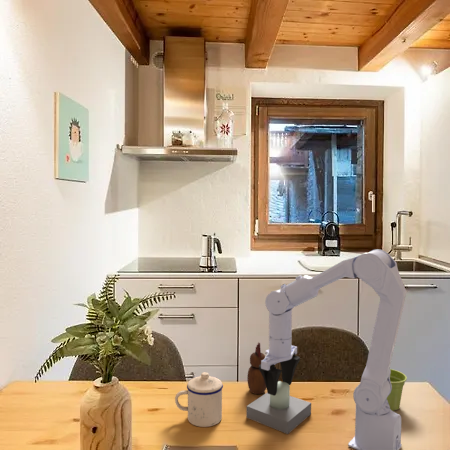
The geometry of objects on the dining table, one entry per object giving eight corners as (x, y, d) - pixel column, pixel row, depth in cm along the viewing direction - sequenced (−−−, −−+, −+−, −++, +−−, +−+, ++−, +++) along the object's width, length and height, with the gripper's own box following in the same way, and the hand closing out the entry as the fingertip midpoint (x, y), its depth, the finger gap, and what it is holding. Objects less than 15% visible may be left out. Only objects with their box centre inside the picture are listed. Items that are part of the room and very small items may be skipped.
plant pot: (369, 411, 109) (370, 379, 108) (368, 395, 118) (368, 366, 117) (407, 417, 106) (408, 384, 105) (403, 400, 115) (404, 370, 114)
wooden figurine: (266, 397, 116) (266, 345, 115) (245, 395, 117) (246, 343, 116) (268, 387, 123) (269, 337, 122) (249, 385, 124) (249, 336, 123)
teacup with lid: (221, 408, 109) (221, 365, 109) (224, 427, 100) (224, 380, 100) (175, 410, 108) (175, 367, 108) (174, 429, 99) (174, 382, 99)
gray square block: (310, 414, 107) (311, 402, 107) (287, 434, 98) (288, 421, 98) (271, 400, 115) (271, 389, 114) (246, 417, 105) (246, 406, 105)
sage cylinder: (292, 403, 107) (293, 384, 106) (283, 411, 102) (284, 391, 102) (275, 398, 109) (275, 379, 109) (266, 405, 105) (266, 386, 105)
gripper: (281, 326, 113) (280, 375, 114) (250, 340, 102) (250, 394, 102) (304, 331, 109) (303, 382, 109) (275, 346, 97) (275, 402, 98)
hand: (279, 388), depth 106 cm, fingers open, 7 cm apart
